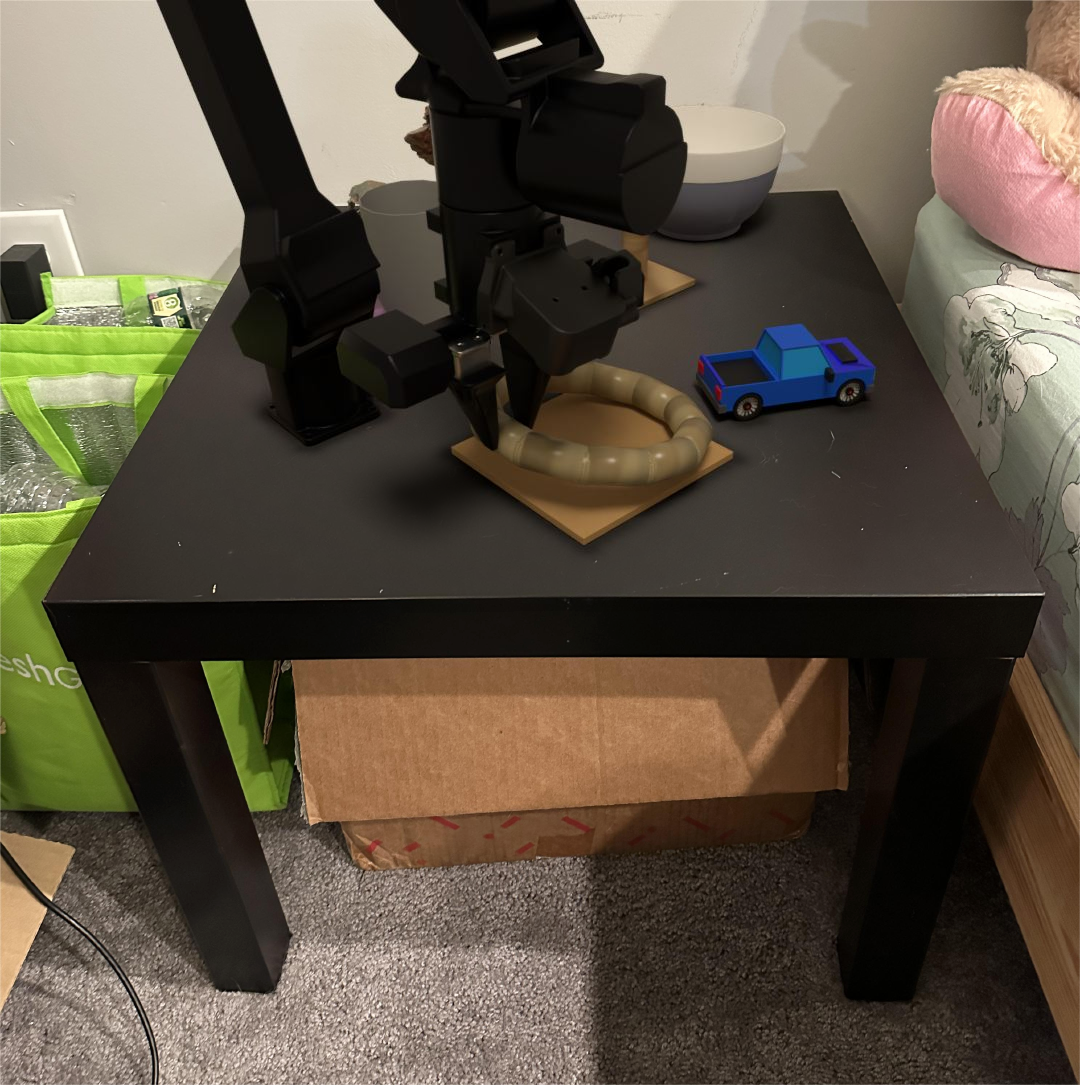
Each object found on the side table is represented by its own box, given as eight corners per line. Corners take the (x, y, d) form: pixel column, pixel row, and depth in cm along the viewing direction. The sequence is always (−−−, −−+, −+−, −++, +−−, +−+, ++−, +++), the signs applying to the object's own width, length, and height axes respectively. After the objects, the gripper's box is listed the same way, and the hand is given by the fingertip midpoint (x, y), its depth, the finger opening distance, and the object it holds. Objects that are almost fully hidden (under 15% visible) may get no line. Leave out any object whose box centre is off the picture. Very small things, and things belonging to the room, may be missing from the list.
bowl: (738, 266, 91) (748, 163, 85) (592, 237, 97) (592, 139, 91) (796, 211, 101) (809, 116, 95) (660, 188, 108) (665, 98, 102)
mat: (583, 546, 59) (583, 538, 59) (451, 453, 68) (450, 446, 67) (733, 459, 66) (733, 451, 66) (595, 384, 75) (595, 378, 74)
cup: (453, 331, 82) (441, 217, 76) (363, 325, 84) (344, 213, 77) (477, 289, 89) (468, 181, 82) (393, 285, 90) (378, 178, 84)
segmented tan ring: (579, 517, 55) (585, 480, 54) (417, 408, 65) (419, 375, 64) (754, 458, 65) (763, 426, 64) (590, 371, 75) (595, 342, 74)
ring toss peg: (633, 312, 84) (635, 239, 80) (573, 284, 89) (572, 214, 85) (695, 284, 88) (700, 214, 84) (634, 260, 93) (636, 191, 89)
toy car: (875, 408, 70) (889, 347, 67) (720, 430, 69) (727, 369, 66) (836, 365, 76) (847, 307, 72) (691, 384, 74) (696, 326, 71)
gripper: (435, 293, 41) (465, 565, 51) (723, 187, 50) (701, 435, 60) (308, 225, 48) (356, 477, 58) (582, 142, 57) (583, 372, 67)
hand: (507, 439), depth 61 cm, fingers closed on segmented tan ring, 2 cm apart
